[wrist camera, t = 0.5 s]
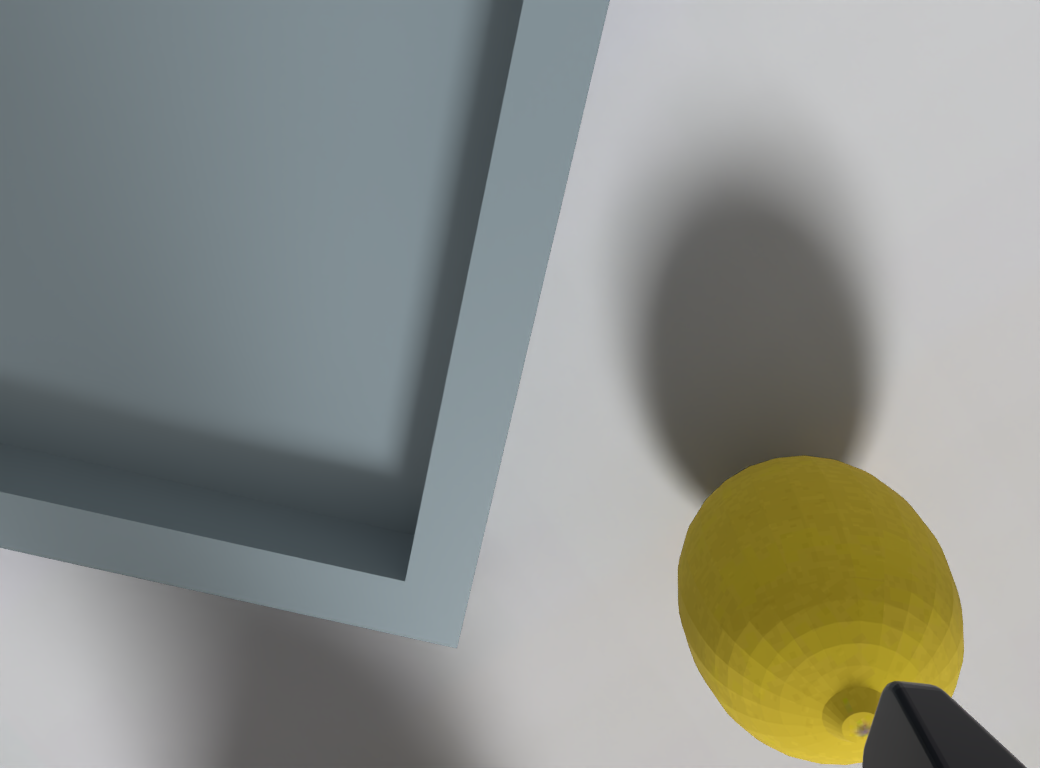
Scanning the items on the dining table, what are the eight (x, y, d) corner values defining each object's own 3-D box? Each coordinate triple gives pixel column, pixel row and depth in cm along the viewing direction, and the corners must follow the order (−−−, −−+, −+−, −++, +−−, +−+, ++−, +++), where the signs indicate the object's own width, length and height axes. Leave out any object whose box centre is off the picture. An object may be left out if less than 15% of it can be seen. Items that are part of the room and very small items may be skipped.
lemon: (730, 631, 25) (791, 892, 18) (623, 471, 24) (641, 682, 16) (927, 538, 24) (1084, 779, 16) (827, 361, 22) (949, 537, 15)
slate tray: (471, 577, 25) (456, 648, 22) (-207, 426, 25) (-308, 479, 22) (651, -195, 18) (663, -232, 16) (-273, -417, 18) (-429, -496, 15)
